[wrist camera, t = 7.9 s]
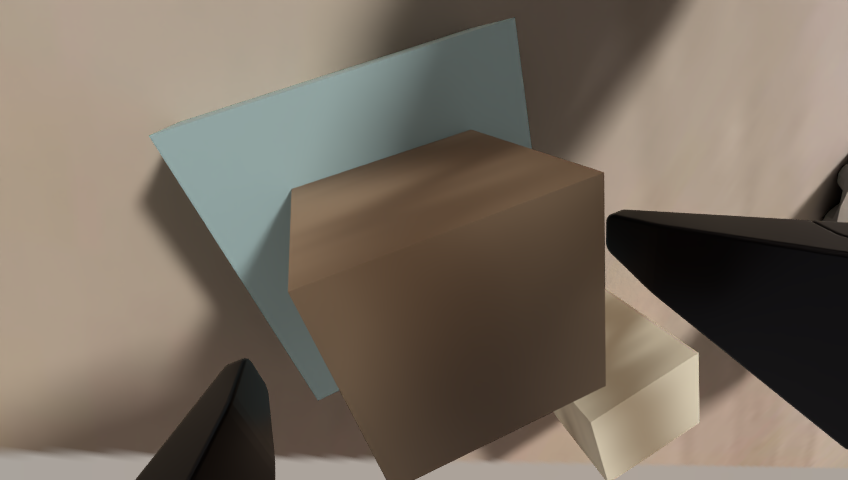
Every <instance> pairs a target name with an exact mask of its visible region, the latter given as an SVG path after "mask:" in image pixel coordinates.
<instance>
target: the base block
mask: <svg viewBox="0 0 848 480" xmlns="http://www.w3.org/2000/svg"><path fill="white" fill-rule="evenodd" d="M468 130H474V131H478V132H481V133H484V134H487V135H490V136H493V137H496V138H499V139H502V140H505V141H508V142H512V143H515V144H518V145H521V146H524V147H527V148H530V149H532V146H531V138H530V130H529V123H528V115H527V107H526V99H525V92H524V84H523V76H522V69H521V61H520V53H519V46H518V38H517V30H516V23H515V17H514V18H510V19H506V20H502V21H498V22H494V23H490V24H486V25H482V26H478V27H474V28H470V29H467V30H464V31H461V32H458V33H455V34H452V35H448V36H445V37H442V38H439V39H436V40H433V41H430V42H427V43H424V44H420V45H417V46H414V47H411V48H408V49H405V50H402V51H399V52H396V53H392V54H389V55H386V56H383V57H380V58H377V59H374V60H371V61H368V62H365V63H361V64H358V65H355V66H352V67H349V68H346V69H343V70H340V71H337V72H333V73H330V74H327V75H324V76H321V77H318V78H315V79H312V80H309V81H305V82H302V83H299V84H296V85H293V86H290V87H287V88H284V89H281V90H277V91H274V92H271V93H268V94H265V95H262V96H259V97H256V98H253V99H249V100H246V101H243V102H240V103H237V104H234V105H231V106H228V107H225V108H221V109H218V110H215V111H212V112H209V113H206V114H203V115H200V116H197V117H194V118H190V119H187V120H184V121H181V122H178V123H176V124H174V125H172V126H169V127H167V128H165V129H163V130H160V131H158V132H156V133H154V134H151V135H149V137H150V138H151V140H152V141H153V143H154V145H155V146H156V148H157V149H158V151H159V152H160V154H161V156H162V157H163V159H164V160H165V162H166V163H167V165H168V166H169V168H170V170H171V171H172V173H173V174H174V176H175V177H176V179H177V181H178V182H179V184H180V185H181V187H182V188H183V190H184V192H185V193H186V195H187V196H188V198H189V199H190V201H191V203H192V204H193V206H194V207H195V209H196V210H197V212H198V213H199V215H200V217H201V218H202V220H203V221H204V223H205V224H206V226H207V228H208V229H209V231H210V232H211V234H212V235H213V237H214V239H215V240H216V242H217V243H218V245H219V246H220V248H221V250H222V251H223V253H224V254H225V256H226V257H227V259H228V260H229V262H230V264H231V265H232V267H233V268H234V270H235V271H236V273H237V275H238V276H239V278H240V279H241V281H242V282H243V284H244V286H245V287H246V289H247V290H248V292H249V293H250V295H251V297H252V298H253V300H254V301H255V303H256V304H257V306H258V307H259V309H260V311H261V312H262V314H263V315H264V317H265V318H266V320H267V322H268V323H269V325H270V326H271V328H272V329H273V331H274V333H275V334H276V336H277V337H278V339H279V340H280V342H281V343H282V345H283V347H284V348H285V350H286V351H287V353H288V354H289V356H290V358H291V359H292V361H293V362H294V364H295V365H296V367H297V369H298V370H299V372H300V373H301V375H302V376H303V378H304V380H305V381H306V383H307V384H308V386H309V387H310V389H311V390H312V392H313V394H314V395H315V397H316V398H317V400H320V399H322V398H325V397H327V396H329V395H331V394H333V393H335V392H337V391H339V388H338V386H337V385H336V383H335V381H334V379H333V377H332V375H331V373H330V371H329V369H328V367H327V366H326V364H325V362H324V360H323V358H322V356H321V354H320V352H319V350H318V348H317V346H316V345H315V343H314V341H313V339H312V337H311V335H310V333H309V331H308V329H307V327H306V326H305V324H304V322H303V320H302V318H301V316H300V314H299V312H298V310H297V308H296V306H295V305H294V303H293V301H292V299H291V297H290V295H289V293H288V274H289V246H290V218H291V190H292V189H293V188H296V187H299V186H302V185H305V184H308V183H311V182H314V181H317V180H320V179H323V178H326V177H329V176H332V175H335V174H338V173H341V172H344V171H347V170H350V169H353V168H356V167H359V166H362V165H365V164H368V163H371V162H374V161H377V160H380V159H383V158H386V157H389V156H392V155H395V154H398V153H401V152H404V151H407V150H410V149H413V148H417V147H420V146H423V145H426V144H429V143H432V142H435V141H438V140H441V139H444V138H447V137H450V136H453V135H456V134H459V133H462V132H465V131H468Z"/></svg>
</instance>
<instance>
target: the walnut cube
mask: <svg viewBox="0 0 848 480" xmlns="http://www.w3.org/2000/svg"><path fill="white" fill-rule="evenodd" d="M288 293H289V295H290V297H291V299H292V301H293V303H294V305H295V306H296V308H297V310H298V312H299V314H300V316H301V318H302V320H303V322H304V324H305V326H306V327H307V329H308V331H309V333H310V335H311V337H312V339H313V341H314V343H315V345H316V346H317V348H318V350H319V352H320V354H321V356H322V358H323V360H324V362H325V364H326V366H327V367H328V369H329V371H330V373H331V375H332V377H333V379H334V381H335V383H336V385H337V386H338V388H339V390H340V392H341V394H342V396H343V398H344V400H345V402H346V404H347V406H348V407H349V409H350V411H351V413H352V415H353V417H354V419H355V421H356V423H357V425H358V427H359V428H360V430H361V432H362V434H363V436H364V438H365V440H366V442H367V444H368V446H369V447H370V449H371V451H372V453H373V455H374V457H375V459H376V461H377V463H378V465H379V467H380V468H381V470H382V472H383V474H384V476H385V478H386V480H415V479H417V478H419V477H421V476H423V475H425V474H427V473H429V472H431V471H433V470H435V469H437V468H439V467H441V466H444V465H446V464H448V463H450V462H452V461H454V460H456V459H458V458H460V457H462V456H464V455H466V454H468V453H470V452H472V451H474V450H476V449H478V448H480V447H482V446H484V445H486V444H488V443H490V442H493V441H495V440H497V439H499V438H501V437H503V436H505V435H507V434H509V433H511V432H513V431H515V430H517V429H519V428H521V427H523V426H525V425H527V424H529V423H531V422H533V421H535V420H537V419H539V418H541V417H543V416H546V415H548V414H550V413H552V412H554V411H556V410H558V409H560V408H562V407H564V406H566V405H568V404H570V403H572V402H574V401H576V400H578V399H580V398H582V397H584V396H586V395H588V394H590V393H592V392H594V391H597V390H599V389H601V388H603V387H605V386H606V348H605V223H604V172H601V171H598V170H595V169H592V168H589V167H586V166H582V165H579V164H576V163H573V162H570V161H567V160H564V159H561V158H558V157H555V156H552V155H549V154H545V153H542V152H539V151H536V150H533V149H530V148H527V147H524V146H521V145H518V144H515V143H512V142H508V141H505V140H502V139H499V138H496V137H493V136H490V135H487V134H484V133H481V132H478V131H474V130H468V131H465V132H462V133H459V134H456V135H453V136H450V137H447V138H444V139H441V140H438V141H435V142H432V143H429V144H426V145H423V146H420V147H417V148H413V149H410V150H407V151H404V152H401V153H398V154H395V155H392V156H389V157H386V158H383V159H380V160H377V161H374V162H371V163H368V164H365V165H362V166H359V167H356V168H353V169H350V170H347V171H344V172H341V173H338V174H335V175H332V176H329V177H326V178H323V179H320V180H317V181H314V182H311V183H308V184H305V185H302V186H299V187H296V188H293V189H292V190H291V218H290V246H289V274H288Z"/></svg>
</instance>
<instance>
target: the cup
mask: <svg viewBox="0 0 848 480" xmlns="http://www.w3.org/2000/svg"><path fill="white" fill-rule="evenodd" d="M837 182H838V185H839V186H840V187H841V189H842V190H843V192H842V196H841V201H840V204H838V205H836V206H835V207H833V208H832V209H831V210H830V211H829V212H828V213H827V214H826V215H825V217H824V219H823V221H830V222H848V163H847V164H846V165H845V166H843V167H842V168H841V170H840V171H839V174H838V180H837Z"/></svg>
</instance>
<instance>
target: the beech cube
mask: <svg viewBox="0 0 848 480" xmlns="http://www.w3.org/2000/svg"><path fill="white" fill-rule="evenodd" d="M605 348H606V386H605V387H603V388H601V389H599V390H597V391H594V392H592V393H590V394H588V395H586V396H584V397H582V398H580V399H578V400H576V401H574V402H572V403H570V404H568V405H566V406H564V407H562V408H560V409H558V410H556V411H554V412H553V413H554V414H555V415H556V417H557V418H558V419H559V420H560V422H561V423H562V424H563V426H564V427H565V428H566V430H567V431H568V432H569V433H570V435H571V436H572V437H573V439H574V440H575V441H576V442H577V444H578V445H579V446H580V448H581V449H582V450H583V451H584V453H585V454H586V455H587V457H588V458H589V459H590V460H591V462H592V463H593V464H594V466H595V467H596V468H597V470H598V471H599V472H600V473H601V475H602V476H603V477H604V479H605V480H614V479H616V478H617V477H619V476H620V475H622V474H623V473H625V472H626V471H628V470H629V469H631V468H632V467H634V466H635V465H637V464H638V463H640V462H641V461H643V460H644V459H646V458H647V457H649V456H650V455H652V454H653V453H655V452H656V451H658V450H659V449H661V448H662V447H664V446H665V445H667V444H668V443H670V442H671V441H673V440H674V439H676V438H677V437H679V436H680V435H682V434H683V433H685V432H686V431H688V430H689V429H691V428H692V427H694V426H695V425H697V424H698V423H700V420H699V353H698V352H697V351H695V350H694V349H692V348H691V347H689V346H688V345H686V344H685V343H683V342H682V341H681V340H679V339H678V338H676V337H675V336H673V335H672V334H670V333H669V332H667V331H666V330H665V329H663V328H662V327H660V326H659V325H657V324H656V323H654V322H653V321H651V320H650V319H649V318H647V317H646V316H644V315H643V314H641V313H640V312H638V311H637V310H635V309H634V308H633V307H631V306H630V305H628V304H627V303H625V302H624V301H622V300H621V299H619V298H618V297H617V296H615V295H614V294H612V293H611V292H609V291H608V290H606V289H605Z"/></svg>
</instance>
